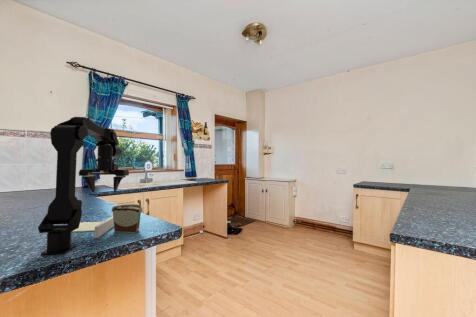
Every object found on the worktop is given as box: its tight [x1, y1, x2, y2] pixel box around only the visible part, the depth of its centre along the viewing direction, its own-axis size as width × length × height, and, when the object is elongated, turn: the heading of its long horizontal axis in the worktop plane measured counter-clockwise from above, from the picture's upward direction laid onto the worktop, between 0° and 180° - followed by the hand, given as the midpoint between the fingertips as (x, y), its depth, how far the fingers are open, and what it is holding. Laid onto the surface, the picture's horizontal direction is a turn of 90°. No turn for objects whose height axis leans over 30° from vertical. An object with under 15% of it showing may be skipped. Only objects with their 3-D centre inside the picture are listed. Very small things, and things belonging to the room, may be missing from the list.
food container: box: [110, 203, 143, 234], centre depth 86 cm, size 12×6×10 cm, turn 84°
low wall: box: [94, 215, 114, 239], centre depth 87 cm, size 20×1×4 cm, turn 9°
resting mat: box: [72, 221, 103, 233], centre depth 89 cm, size 12×15×1 cm
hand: (104, 191), depth 94 cm, fingers open, 9 cm apart
